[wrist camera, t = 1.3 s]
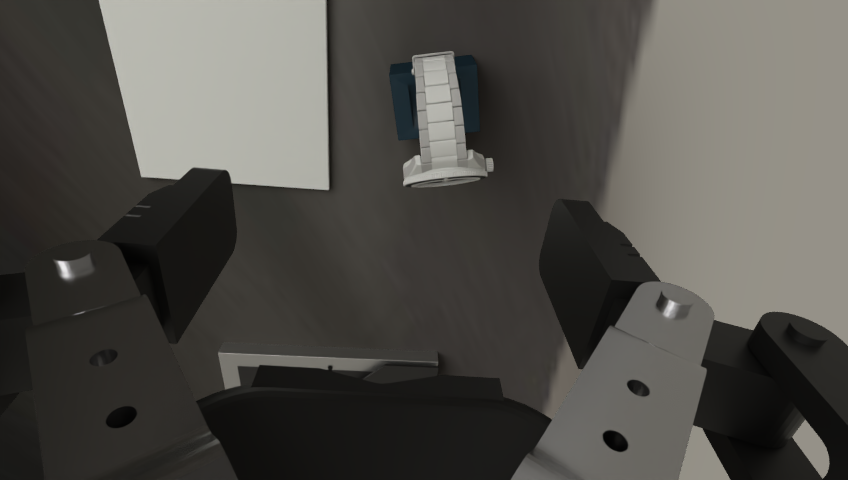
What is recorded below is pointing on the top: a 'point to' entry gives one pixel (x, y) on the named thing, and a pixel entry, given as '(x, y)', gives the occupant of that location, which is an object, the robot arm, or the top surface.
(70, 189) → the top surface
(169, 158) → the mat
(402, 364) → the picture frame
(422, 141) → the watch
